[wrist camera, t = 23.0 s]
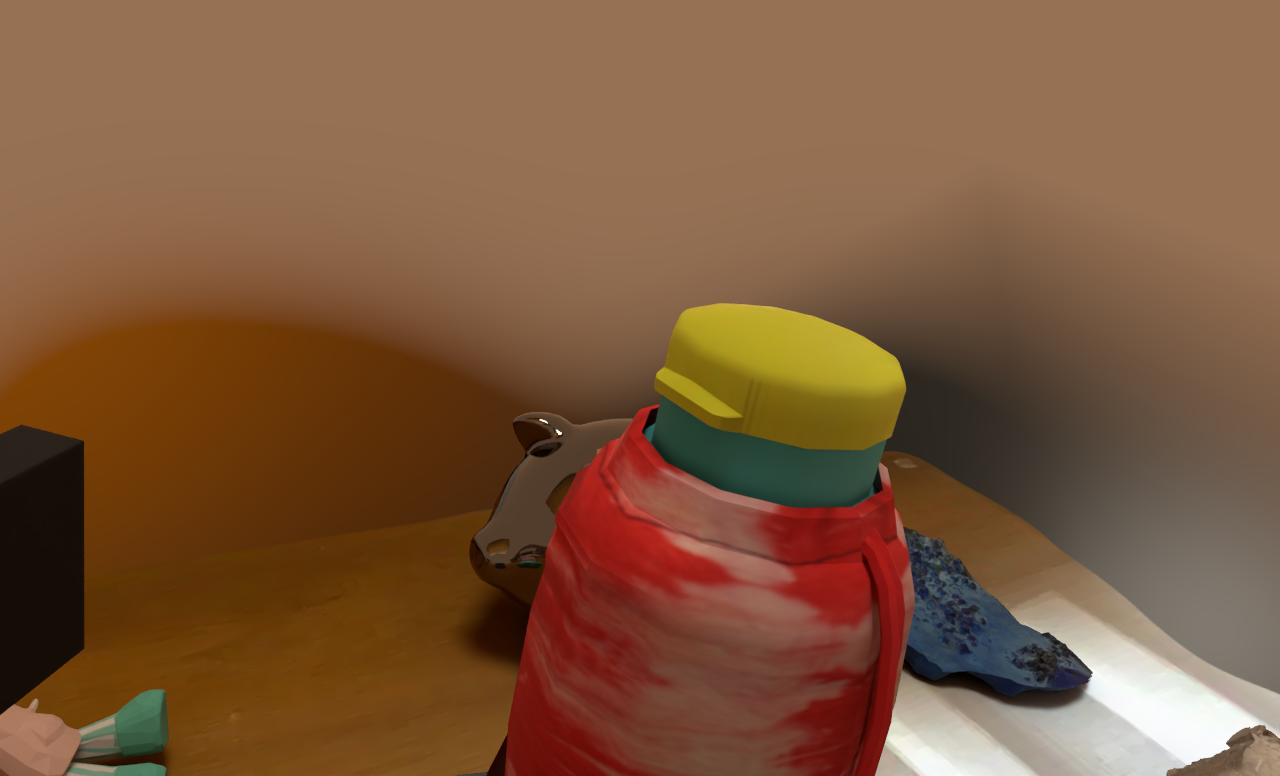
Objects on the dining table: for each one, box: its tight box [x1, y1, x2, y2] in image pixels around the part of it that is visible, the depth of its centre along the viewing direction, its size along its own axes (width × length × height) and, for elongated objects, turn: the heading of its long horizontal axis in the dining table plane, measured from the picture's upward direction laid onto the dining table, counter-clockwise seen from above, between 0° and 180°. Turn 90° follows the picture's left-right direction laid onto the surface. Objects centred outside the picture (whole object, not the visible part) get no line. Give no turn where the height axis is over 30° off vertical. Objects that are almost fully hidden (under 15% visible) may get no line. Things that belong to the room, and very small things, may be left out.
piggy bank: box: [469, 412, 634, 614], centre depth 51 cm, size 11×15×12 cm
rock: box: [903, 527, 1092, 696], centre depth 59 cm, size 15×17×2 cm
